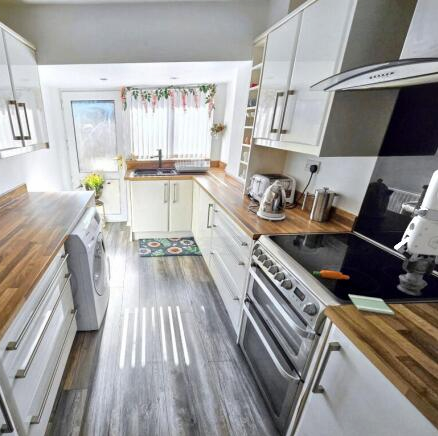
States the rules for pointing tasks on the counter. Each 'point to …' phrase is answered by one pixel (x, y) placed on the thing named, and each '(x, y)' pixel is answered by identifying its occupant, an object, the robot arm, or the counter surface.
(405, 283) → the grey chess piece
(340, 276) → the carrot
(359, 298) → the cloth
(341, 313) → the counter surface
